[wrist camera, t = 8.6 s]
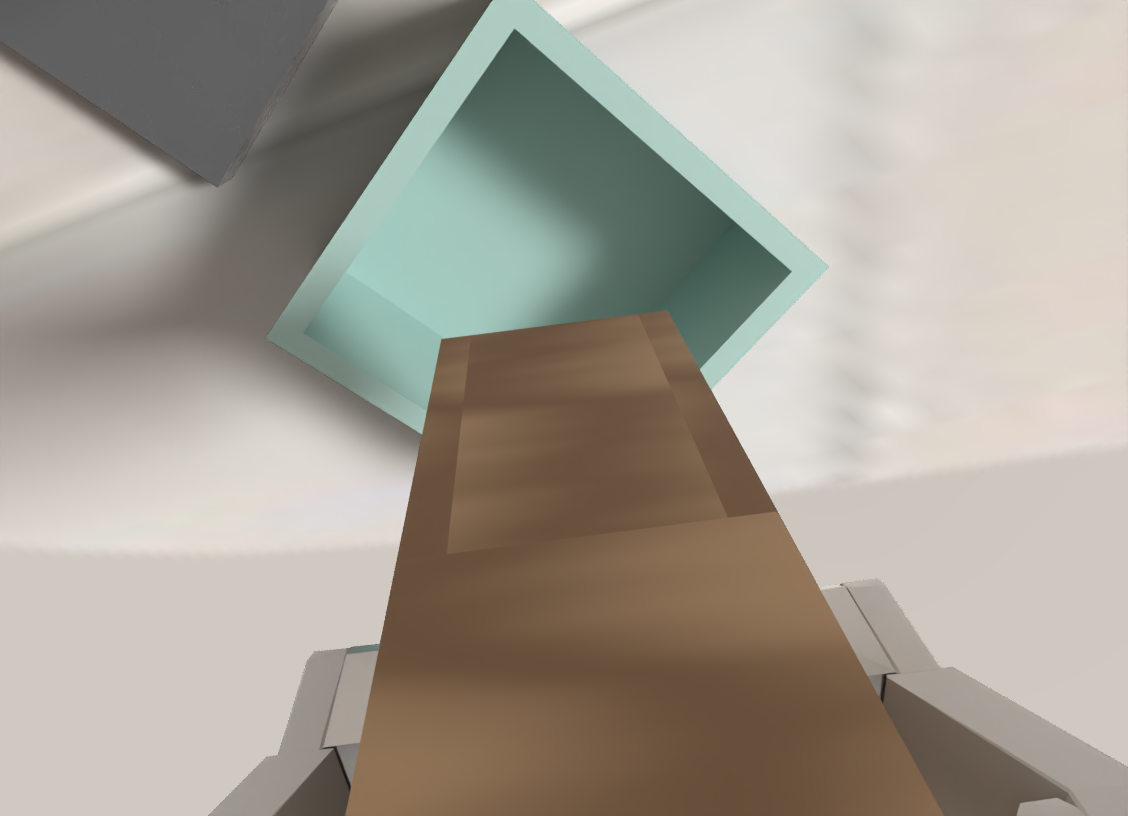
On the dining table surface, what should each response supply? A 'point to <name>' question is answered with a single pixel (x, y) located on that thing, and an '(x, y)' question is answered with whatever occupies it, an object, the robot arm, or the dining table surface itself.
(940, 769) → the robot arm
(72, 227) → the dining table surface
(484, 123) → the sage bin
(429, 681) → the walnut strut
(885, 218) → the dining table surface
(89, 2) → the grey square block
